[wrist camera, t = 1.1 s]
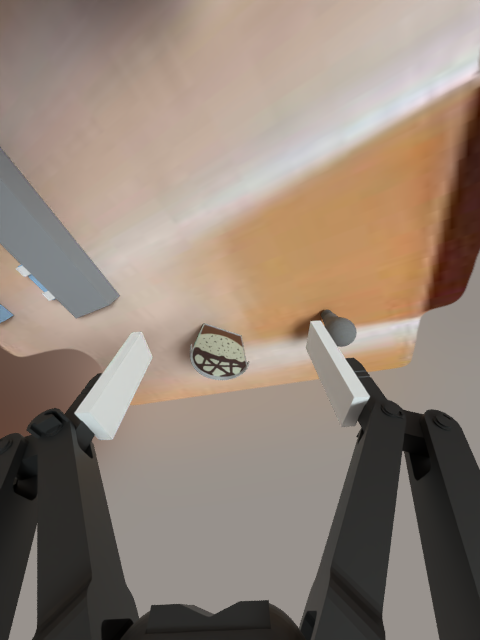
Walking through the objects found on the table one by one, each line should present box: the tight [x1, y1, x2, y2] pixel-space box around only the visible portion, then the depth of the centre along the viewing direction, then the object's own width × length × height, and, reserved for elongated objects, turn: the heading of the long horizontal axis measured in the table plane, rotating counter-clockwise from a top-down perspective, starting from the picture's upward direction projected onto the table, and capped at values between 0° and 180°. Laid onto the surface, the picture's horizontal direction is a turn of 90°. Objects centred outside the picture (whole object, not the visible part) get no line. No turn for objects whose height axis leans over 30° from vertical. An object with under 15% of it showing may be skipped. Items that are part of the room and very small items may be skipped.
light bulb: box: [321, 310, 356, 347], centre depth 39 cm, size 6×6×10 cm
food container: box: [190, 323, 249, 380], centre depth 43 cm, size 12×6×10 cm, turn 67°
